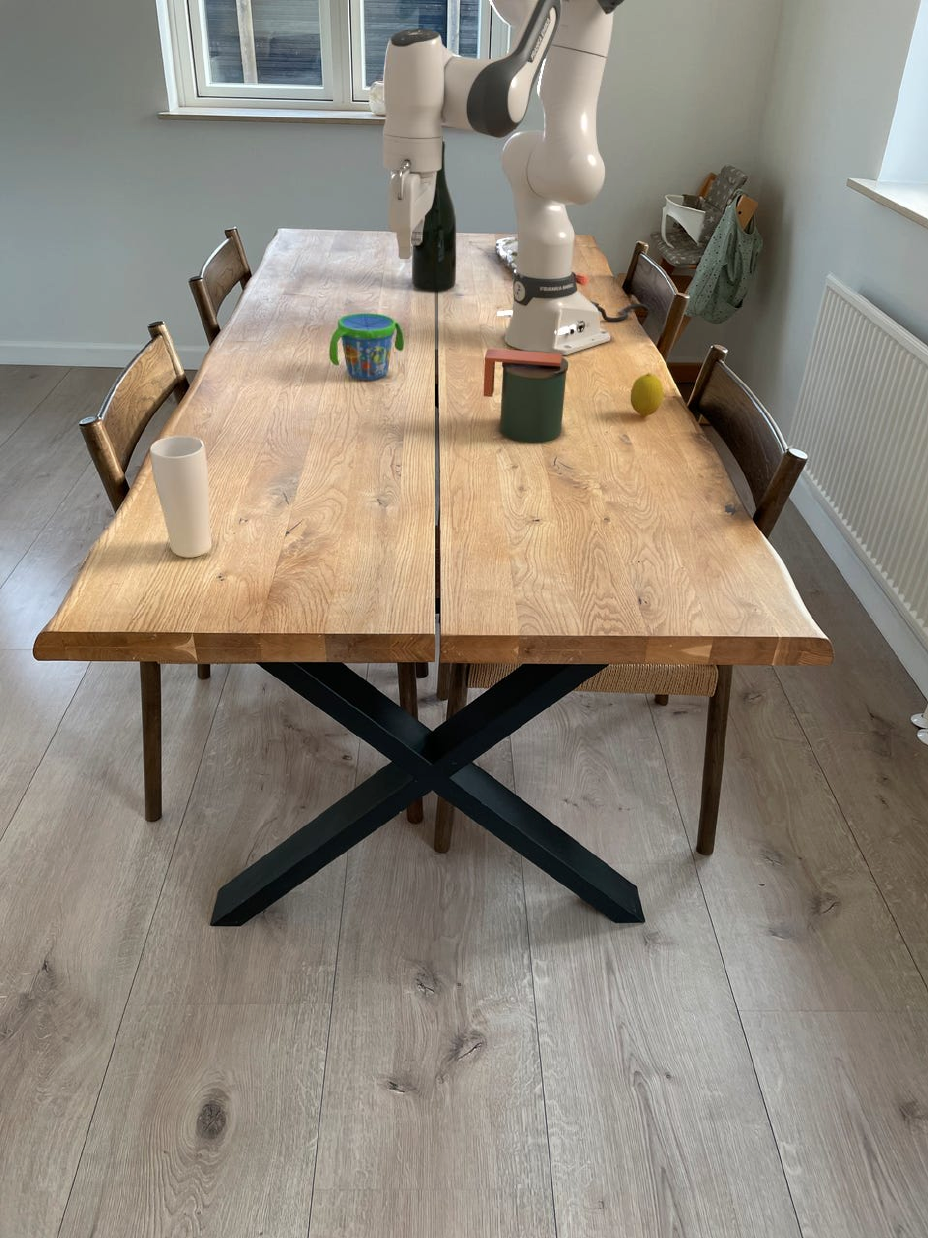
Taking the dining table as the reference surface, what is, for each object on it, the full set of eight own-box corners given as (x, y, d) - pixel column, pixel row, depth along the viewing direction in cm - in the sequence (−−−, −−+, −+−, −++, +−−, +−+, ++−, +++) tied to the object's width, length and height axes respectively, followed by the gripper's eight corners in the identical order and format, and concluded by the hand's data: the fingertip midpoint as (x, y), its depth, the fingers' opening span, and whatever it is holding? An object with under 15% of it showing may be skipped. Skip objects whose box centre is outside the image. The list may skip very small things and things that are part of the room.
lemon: (662, 413, 177) (668, 370, 172) (656, 425, 172) (663, 381, 168) (631, 408, 178) (636, 365, 174) (625, 420, 174) (630, 376, 169)
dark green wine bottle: (464, 285, 239) (468, 133, 220) (439, 295, 231) (442, 139, 213) (427, 277, 243) (429, 128, 225) (403, 287, 236) (402, 134, 217)
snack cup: (389, 359, 196) (389, 307, 190) (417, 376, 188) (417, 322, 183) (318, 373, 188) (315, 319, 183) (344, 391, 181) (342, 336, 175)
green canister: (495, 440, 165) (498, 370, 158) (501, 415, 174) (505, 347, 167) (560, 446, 164) (566, 375, 157) (563, 420, 173) (569, 352, 166)
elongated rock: (524, 252, 271) (488, 254, 270) (524, 231, 268) (487, 233, 267) (554, 281, 241) (514, 284, 240) (554, 258, 238) (513, 261, 237)
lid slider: (482, 397, 165) (484, 357, 161) (485, 388, 168) (487, 348, 164) (557, 403, 164) (560, 362, 160) (558, 393, 167) (562, 353, 163)
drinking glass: (170, 537, 136) (153, 435, 127) (220, 536, 136) (207, 434, 128) (162, 562, 130) (144, 458, 122) (214, 561, 131) (200, 457, 122)
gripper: (421, 168, 140) (419, 269, 148) (443, 146, 157) (440, 237, 165) (377, 165, 141) (377, 265, 148) (404, 143, 158) (402, 234, 165)
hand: (410, 250), depth 157 cm, fingers open, 8 cm apart
